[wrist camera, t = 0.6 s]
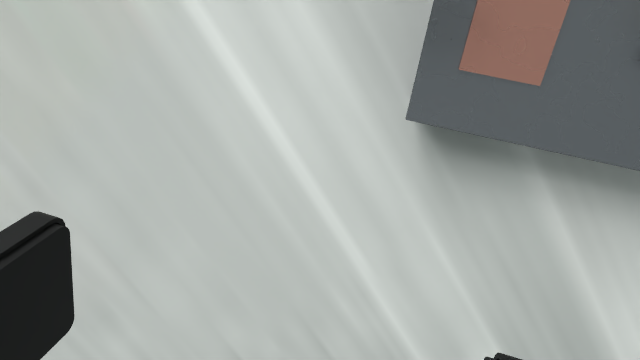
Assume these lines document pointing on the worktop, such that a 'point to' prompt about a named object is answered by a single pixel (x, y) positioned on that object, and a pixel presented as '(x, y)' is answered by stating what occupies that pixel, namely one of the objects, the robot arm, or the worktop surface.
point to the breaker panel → (535, 75)
